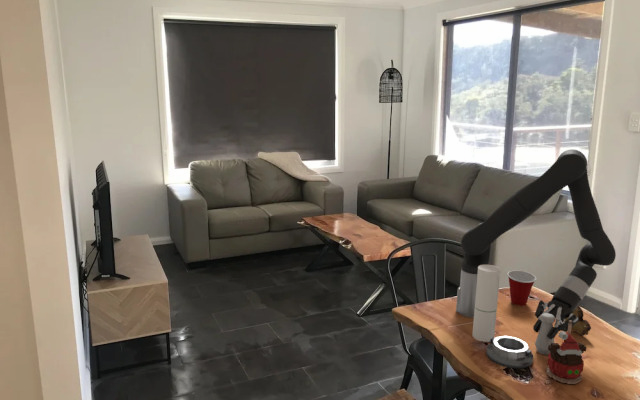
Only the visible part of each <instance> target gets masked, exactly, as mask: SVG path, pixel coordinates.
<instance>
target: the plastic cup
mask: <svg viewBox="0 0 640 400" xmlns="http://www.w3.org/2000/svg"><path fill="white" fill-rule="evenodd" d="M506 276H508V284H509V295H510V296H509V297H510V302H511V304H513V305H514V306H519V307H523V306H526V305H527V303H528V300H529V297H530V295H531V292H532V291H531V290H532V288H533V286H534V283H535V282H536V281H537V277H536V275H535V274H532V273H531V272H528V271H526V270H525V271H524V270H519V269H518V270H517V269H513V270H510V271H508V272H507V275H506Z"/></svg>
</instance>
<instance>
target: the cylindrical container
mask: <svg viewBox="0 0 640 400" xmlns="http://www.w3.org/2000/svg"><path fill="white" fill-rule="evenodd" d="M500 277H501V268H500V267H498V266H496V265H493V264H488V265H480V266H478V274H477V286H476V298H475V310H474V318H473V323H472V325H473V326H472V334H471V335H472V338H473V337H474V338H473V339H475V340H477V341H478V342H482V341H483V342H482V343H490V339H491V338H493V337H494V338H495V335H496V334H495V333H496V321H497V312H498V311H497V310H498V299H499V289H500V279H501V278H500Z"/></svg>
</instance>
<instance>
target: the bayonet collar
mask: <svg viewBox="0 0 640 400" xmlns="http://www.w3.org/2000/svg"><path fill="white" fill-rule="evenodd" d="M529 348H530V347H529V345H528V343H527V342H526V341H524V340H522V339H520V338H517V337H515V336H511V335H510V336H509V335H500V336H494V337H493V338H491V339H490V342H489V344H488V345H487V347H486V351H485V354H486V357H487V358H488V360H490V361H491V362H493V363H494V364H497V365H498V366H501V367H504V368H508V369H517V370H518V369H525V368H529V367H530V366H532V365H533V361H534V354H533V353H532V350H531V349H529Z"/></svg>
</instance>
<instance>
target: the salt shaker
mask: <svg viewBox="0 0 640 400" xmlns="http://www.w3.org/2000/svg"><path fill="white" fill-rule="evenodd" d="M540 320H541V321H542V324H541V327H540V330H539V332H538V333H537V336H536V339H535V342H534V345H535V348H536V352H538V353H539V354H541V355H547V356H548V354H549V353H550V351H549V350H548V345H551V343H555V338H552V339H549V338H548V337H547V334H548V333H549V332H550V330H551V329H552V327H554V325H553V324H555V322H556V318H555V317H554V316H553V315H552V314H549V313H543V314H541V317H540Z"/></svg>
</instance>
